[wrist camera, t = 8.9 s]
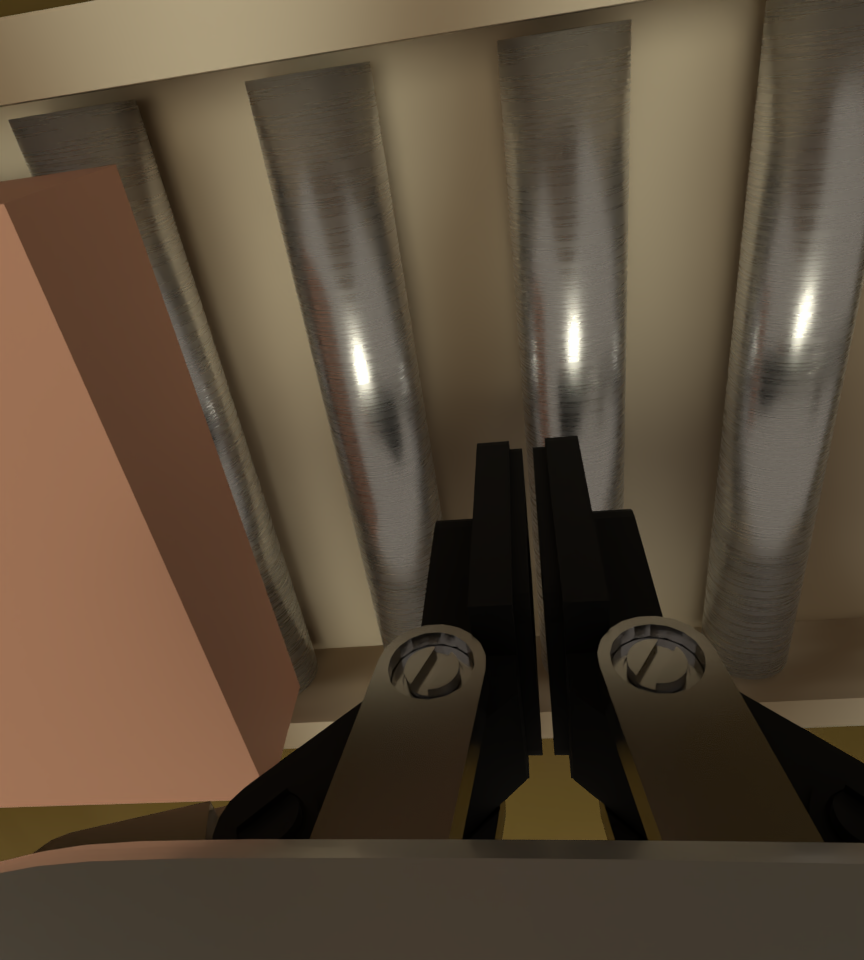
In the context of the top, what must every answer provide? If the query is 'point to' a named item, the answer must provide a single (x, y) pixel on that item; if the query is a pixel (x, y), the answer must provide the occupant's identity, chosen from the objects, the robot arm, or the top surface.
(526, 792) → the top surface
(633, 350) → the roller bed
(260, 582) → the slab
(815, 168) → the rollers
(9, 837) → the top surface
